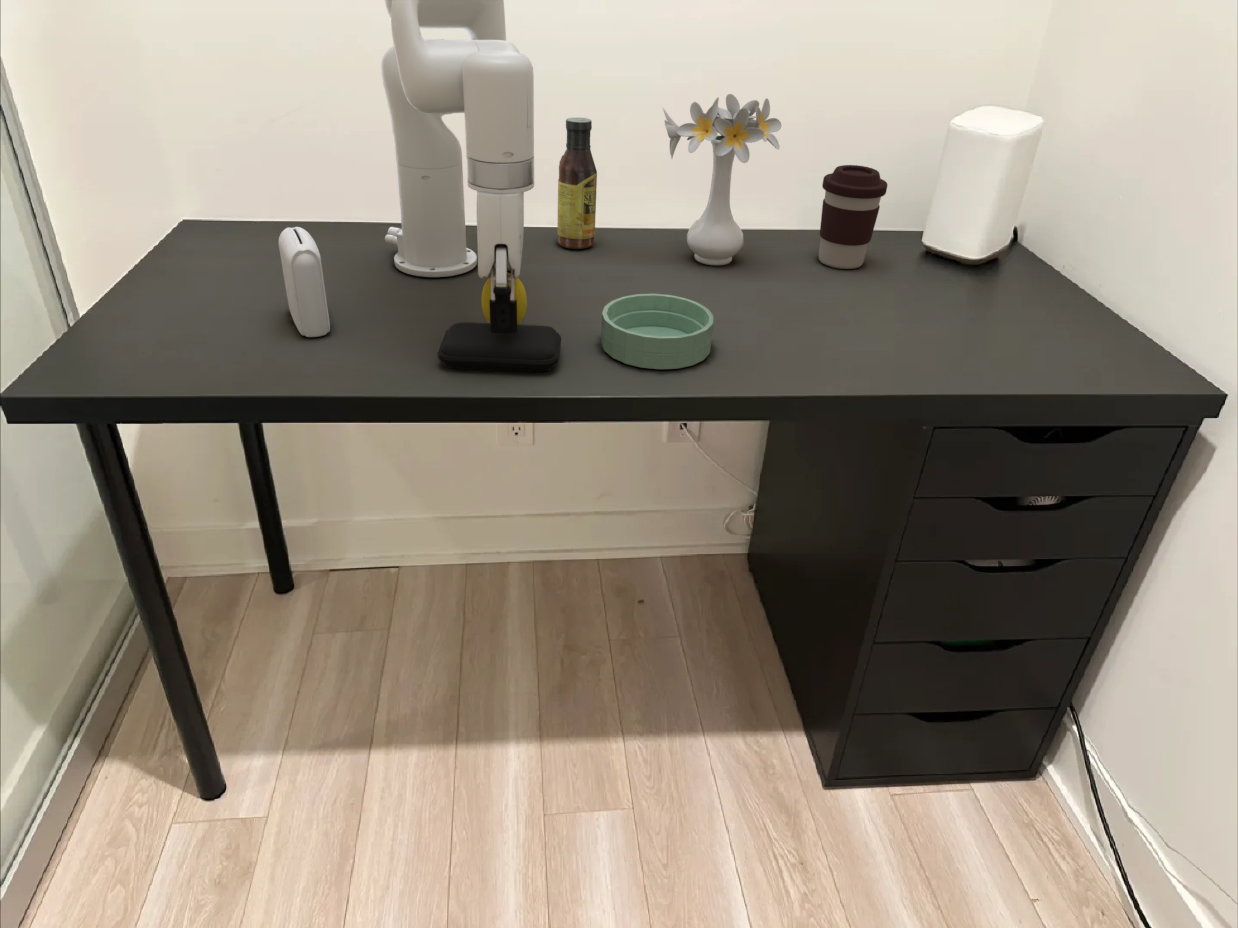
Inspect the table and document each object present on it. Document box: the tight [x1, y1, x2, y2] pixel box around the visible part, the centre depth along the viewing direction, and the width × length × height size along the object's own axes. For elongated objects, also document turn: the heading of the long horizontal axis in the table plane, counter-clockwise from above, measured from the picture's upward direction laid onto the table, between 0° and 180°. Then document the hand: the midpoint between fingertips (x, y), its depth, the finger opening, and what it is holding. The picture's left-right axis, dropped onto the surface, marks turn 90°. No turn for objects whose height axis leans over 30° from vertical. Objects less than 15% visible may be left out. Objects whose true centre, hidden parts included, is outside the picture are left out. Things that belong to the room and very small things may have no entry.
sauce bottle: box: [556, 117, 598, 250], centre depth 143 cm, size 6×6×20 cm
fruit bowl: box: [600, 293, 715, 370], centre depth 115 cm, size 14×14×4 cm
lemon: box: [480, 272, 528, 325], centre depth 108 cm, size 6×6×8 cm
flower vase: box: [662, 93, 783, 266], centre depth 138 cm, size 13×18×25 cm
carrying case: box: [436, 321, 562, 373], centre depth 111 cm, size 11×3×15 cm
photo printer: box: [277, 226, 331, 338], centre depth 114 cm, size 10×4×12 cm, turn 26°
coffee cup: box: [818, 164, 888, 270], centre depth 143 cm, size 10×10×15 cm
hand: (504, 319), depth 110 cm, fingers closed on lemon, 5 cm apart
